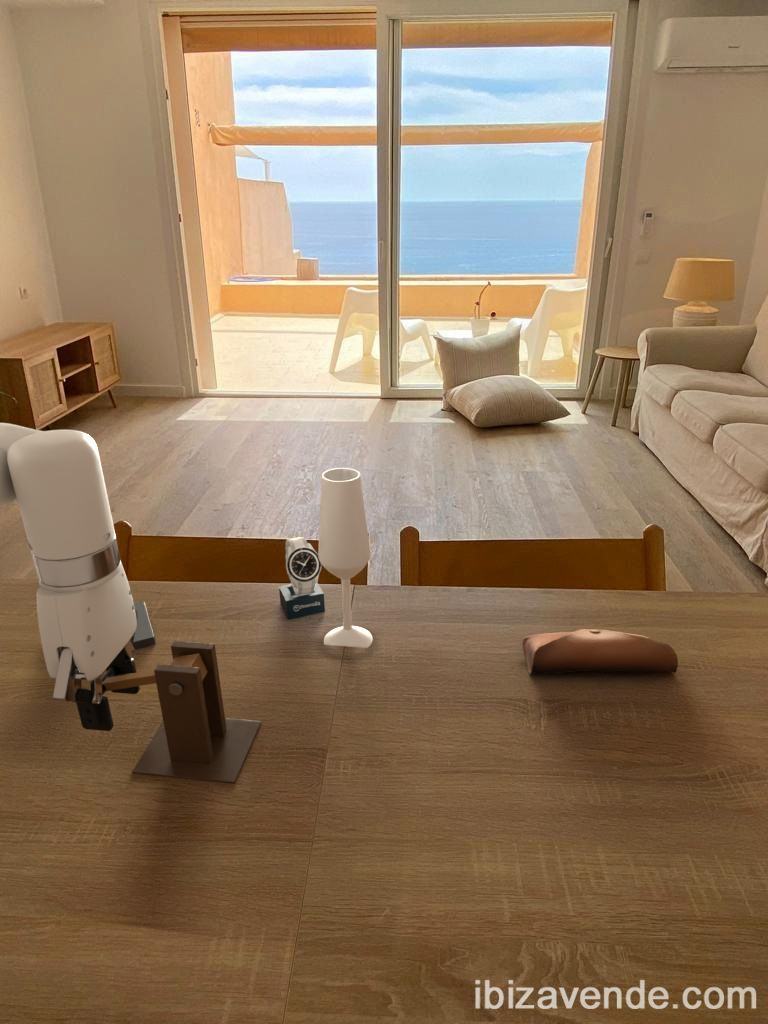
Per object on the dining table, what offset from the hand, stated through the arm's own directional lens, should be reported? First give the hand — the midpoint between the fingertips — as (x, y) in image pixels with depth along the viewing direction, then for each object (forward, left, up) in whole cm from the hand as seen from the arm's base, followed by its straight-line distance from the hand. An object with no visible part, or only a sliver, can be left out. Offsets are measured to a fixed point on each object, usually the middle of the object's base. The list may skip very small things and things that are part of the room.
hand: (112, 707), depth 74 cm
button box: (-9, +20, -5) cm, 22 cm away
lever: (+5, -1, +3) cm, 6 cm away
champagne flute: (+24, +20, -6) cm, 32 cm away
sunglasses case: (+56, +15, -6) cm, 58 cm away
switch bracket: (+9, -1, -5) cm, 11 cm away
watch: (+17, +28, -6) cm, 33 cm away
